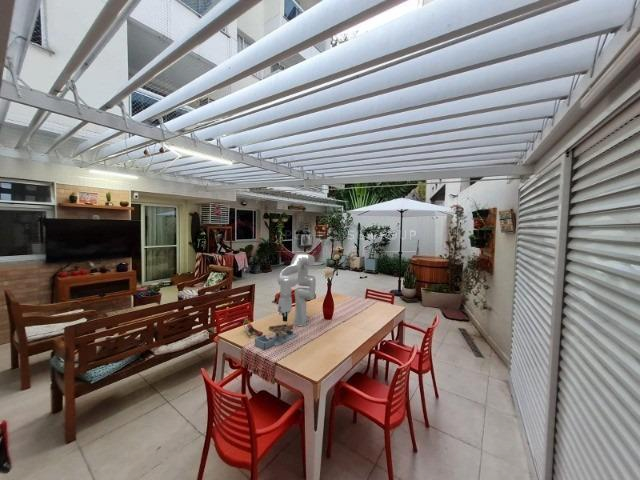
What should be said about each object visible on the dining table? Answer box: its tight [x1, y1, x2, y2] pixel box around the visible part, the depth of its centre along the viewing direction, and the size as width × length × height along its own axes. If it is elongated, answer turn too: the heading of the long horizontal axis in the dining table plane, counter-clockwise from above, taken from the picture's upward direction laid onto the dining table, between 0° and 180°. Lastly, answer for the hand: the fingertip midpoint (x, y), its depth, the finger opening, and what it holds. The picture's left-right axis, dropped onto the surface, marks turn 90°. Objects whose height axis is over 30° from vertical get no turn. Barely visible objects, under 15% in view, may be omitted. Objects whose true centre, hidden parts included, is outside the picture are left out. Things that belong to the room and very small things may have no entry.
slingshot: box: [243, 317, 264, 338], centre depth 195 cm, size 17×10×15 cm
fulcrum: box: [268, 328, 298, 347], centre depth 189 cm, size 21×12×8 cm, turn 141°
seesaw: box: [268, 323, 295, 336], centre depth 187 cm, size 20×15×3 cm
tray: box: [254, 334, 276, 351], centre depth 178 cm, size 9×11×5 cm
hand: (284, 321), depth 177 cm, fingers closed
